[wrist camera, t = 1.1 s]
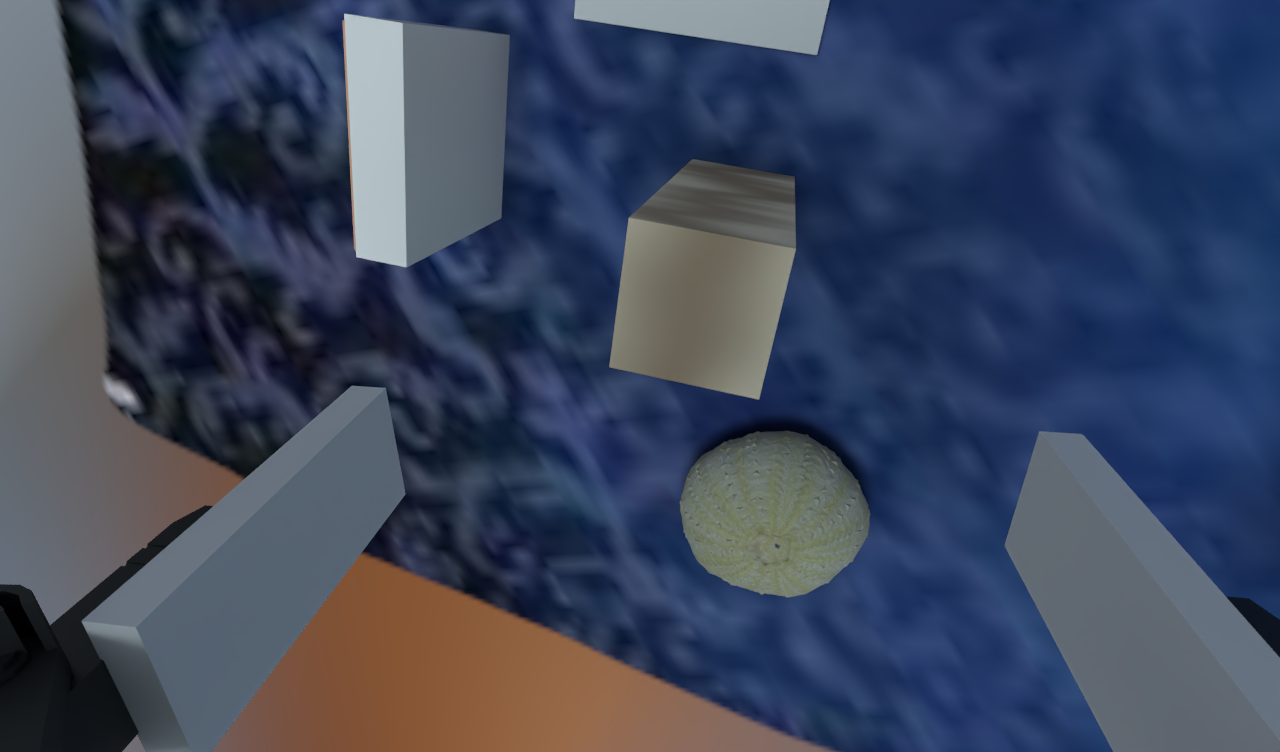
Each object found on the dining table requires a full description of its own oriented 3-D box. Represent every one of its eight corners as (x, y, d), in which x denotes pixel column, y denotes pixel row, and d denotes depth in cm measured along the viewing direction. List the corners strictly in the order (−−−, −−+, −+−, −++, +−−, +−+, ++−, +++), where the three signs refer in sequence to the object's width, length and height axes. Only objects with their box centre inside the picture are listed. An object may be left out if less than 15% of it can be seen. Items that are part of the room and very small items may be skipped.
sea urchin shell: (653, 439, 34) (763, 504, 27) (769, 387, 37) (890, 434, 31) (675, 583, 37) (776, 670, 31) (779, 523, 41) (889, 590, 35)
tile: (509, 35, 29) (402, 22, 21) (501, 218, 33) (406, 267, 25) (462, 27, 29) (338, 12, 21) (458, 209, 33) (351, 256, 25)
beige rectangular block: (794, 176, 29) (796, 248, 17) (771, 275, 31) (759, 399, 19) (692, 158, 30) (629, 217, 18) (676, 257, 32) (609, 367, 20)
